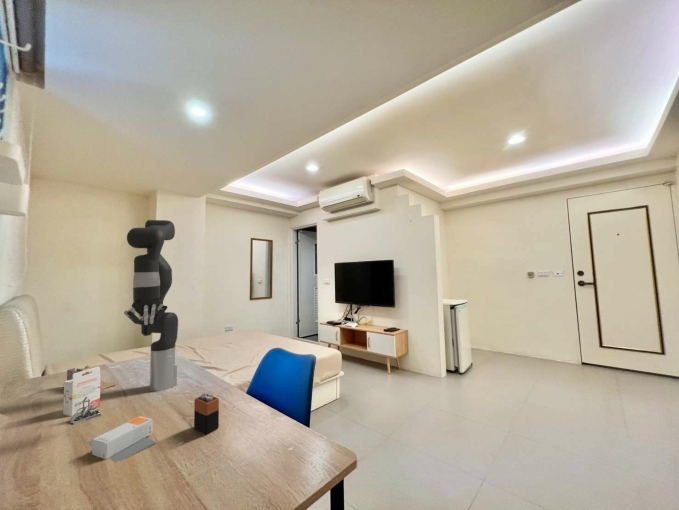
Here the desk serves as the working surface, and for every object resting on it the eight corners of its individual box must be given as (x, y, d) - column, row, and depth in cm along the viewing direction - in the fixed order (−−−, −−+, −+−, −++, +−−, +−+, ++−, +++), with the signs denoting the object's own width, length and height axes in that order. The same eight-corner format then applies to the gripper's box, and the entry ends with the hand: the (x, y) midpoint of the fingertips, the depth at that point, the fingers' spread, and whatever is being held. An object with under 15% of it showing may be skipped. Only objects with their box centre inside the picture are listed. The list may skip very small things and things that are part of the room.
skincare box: (153, 418, 79) (106, 443, 68) (153, 433, 79) (105, 460, 67) (139, 415, 81) (91, 439, 70) (139, 429, 81) (91, 455, 70)
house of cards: (98, 408, 97) (99, 387, 97) (107, 414, 92) (108, 392, 93) (64, 420, 89) (65, 397, 90) (72, 427, 84) (73, 403, 85)
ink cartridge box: (91, 404, 100) (93, 364, 101) (100, 405, 98) (101, 365, 99) (61, 415, 91) (63, 372, 92) (70, 417, 90) (72, 373, 91)
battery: (206, 435, 78) (206, 400, 79) (193, 429, 81) (193, 395, 82) (219, 428, 82) (219, 395, 82) (206, 422, 85) (207, 390, 86)
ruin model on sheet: (116, 384, 119) (117, 362, 119) (68, 401, 103) (69, 375, 104) (85, 377, 128) (85, 357, 128) (36, 392, 113) (37, 368, 113)
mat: (124, 428, 83) (125, 426, 83) (155, 444, 74) (155, 442, 74) (68, 453, 71) (68, 451, 72) (96, 476, 63) (96, 473, 63)
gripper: (161, 283, 99) (161, 329, 98) (118, 286, 87) (118, 339, 86) (172, 283, 95) (173, 331, 95) (130, 287, 84) (130, 341, 83)
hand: (147, 335), depth 91 cm, fingers closed
